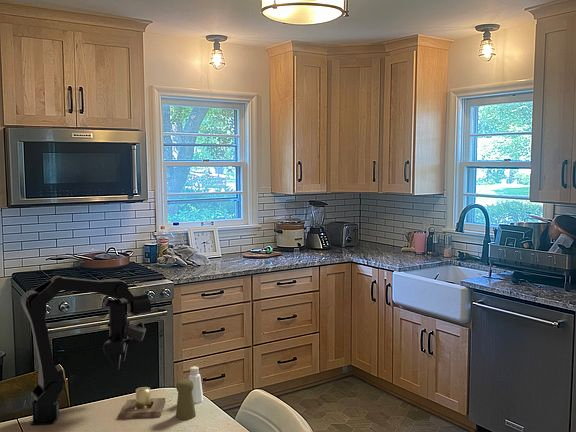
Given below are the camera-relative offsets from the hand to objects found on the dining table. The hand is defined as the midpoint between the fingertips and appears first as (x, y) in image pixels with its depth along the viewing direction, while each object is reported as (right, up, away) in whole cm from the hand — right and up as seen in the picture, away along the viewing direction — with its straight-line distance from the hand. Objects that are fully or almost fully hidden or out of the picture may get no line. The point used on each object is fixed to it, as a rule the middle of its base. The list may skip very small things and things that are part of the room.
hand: (119, 365), depth 186 cm
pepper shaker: (+23, -13, -11) cm, 29 cm away
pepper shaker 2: (+24, -12, +1) cm, 27 cm away
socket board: (+9, -12, -6) cm, 17 cm away
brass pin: (+9, -12, -7) cm, 17 cm away
